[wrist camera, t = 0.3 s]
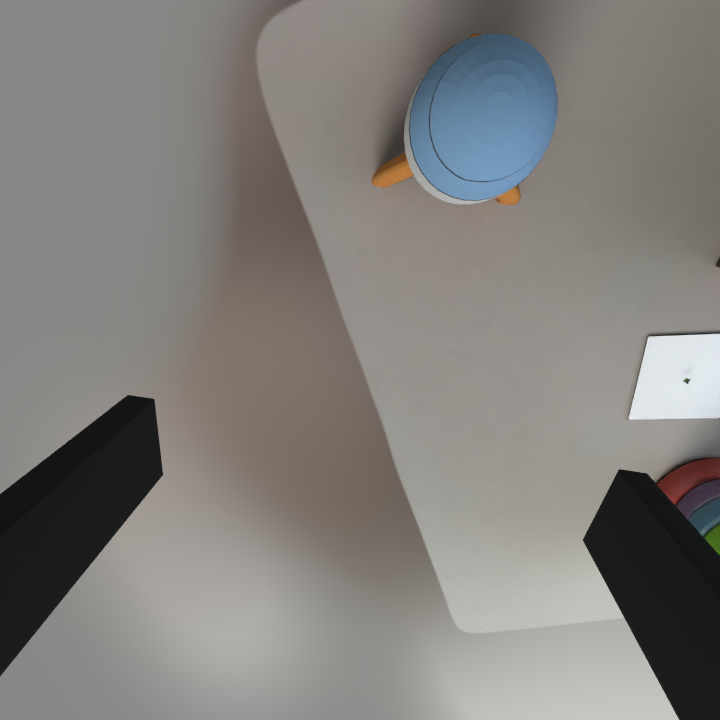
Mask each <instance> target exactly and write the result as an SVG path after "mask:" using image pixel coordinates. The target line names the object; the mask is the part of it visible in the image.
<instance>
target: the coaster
mask: <svg viewBox="0 0 720 720" xmlns="http://www.w3.org/2000/svg"><path fill="white" fill-rule="evenodd" d="M688 418H720V334H705V335H679V336H652V337H648V341H647V345H646V349H645V353H644V357H643V361H642V365H641V370H640V374H639V378H638V382H637V386H636V390H635V395H634V399H633V403H632V407H631V411H630V415H629V420H631V419H688Z"/></svg>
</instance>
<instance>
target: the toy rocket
mask: <svg viewBox="0 0 720 720" xmlns="http://www.w3.org/2000/svg"><path fill="white" fill-rule="evenodd" d="M557 104H558V97H557V91H556V85H555V80H554V78H553V75H552V72H551V70H550V67H549V66H548V64H547V63H546V61H545V60H544V58H543V57H542V55H541V54H540V53H539V52H538V51H537V50H536V49H535V48H534V47H532V46H531V45H530V44H528V43H527V42H525V41H523V40H521V39H519V38H518V37H514V36H510V35H506V34H485V35H481V34H478V33H475V34H473V35H471V37H470V38H469V39H467V40H465V41H463V42H460V43H458V44H456V45H454V46H453V47H452V48H450V49H449V50H448V51H446V52H445V53H444V54H442V55H441V56H440V57H439V58H438V59H437V60H436V61H435V62H434V63H433V64H432V65H431V67H430V68H429V69H428V70H427V71H426V73H425V74H424V76H423V77H422V79H421V80H420V82H419V84H418V85H417V87H416V88H415V91H414V93H413V95H412V98H411V100H410V103H409V106H408V110H407V114H406V118H405V126H404V145H405V153H403V154H401V155H399V156H397V157H395V158H394V159H392V160H390V161H388V162H387V163H385V164H383V165H382V166H381V167H380V168H378V169H377V171H376V173H375V174H374V176H373V178H372V183H373V185H374V186H378V187H383V188H384V187H389V186H391V185H393V184H395V183H398V182H400V181H402V180H405V179H407V178H410V177H412V176H414V177H415V179H416V180H417V181H418V182H419V183H420V185H421V186H422V187H423V188H424V189H425V190H426V191H428V192H429V193H430V194H431V195H433V196H434V197H436V198H438V199H440V200H442V201H445V202H449V203H453V204H475V203H480V202H484V201H487V200H490V199H493V198H496V199H497V202H498V203H501V204H506V205H514V204H517V203H518V202H519V200H520V198H521V195H520V191H519V187H518V184H519V183H520V182H521V181H522V180H524V179H525V178H526V177H527V176H528V175H529V174H530V173H531V171H532V170H533V169H534V168H535V166H536V165H537V164H538V163H539V161H540V159H541V158H542V156H543V154H544V152H545V151H546V149H547V147H548V145H549V143H550V140H551V137H552V135H553V132H554V128H555V123H556V118H557Z"/></svg>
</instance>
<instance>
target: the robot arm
mask: <svg viewBox="0 0 720 720" xmlns="http://www.w3.org/2000/svg"><path fill="white" fill-rule="evenodd" d="M162 475H163V472H162V462H161V453H160V445H159V436H158V427H157V418H156V411H155V401H154V399H151V398H144V397H137V396H131V395H128V396H127V397H125V398H124V399H122V400H121V401H120V402H118V403H117V404H116V405H115V406H113V407H112V408H111V409H110V410H108V411H107V412H106V413H104V414H103V415H102V416H100V417H99V418H98V419H97V420H95V421H94V422H93V423H92V424H90V425H89V426H88V427H86V428H85V429H84V430H82V431H81V432H80V433H79V434H77V435H76V436H75V437H73V438H72V439H71V440H69V441H68V442H67V443H66V444H65V445H63V446H62V447H61V448H59V449H58V450H57V451H55V452H54V453H53V454H51V455H50V456H49V457H47V458H46V459H45V460H44V461H42V462H41V463H40V464H38V465H37V466H36V467H35V468H33V469H32V470H31V471H29V472H28V473H27V474H26V475H24V476H23V477H22V478H20V479H19V480H18V481H17V482H15V483H14V484H13V485H11V486H10V487H9V488H8V489H6V490H5V491H4V492H2V493H1V494H0V676H1V675H2V673H3V672H4V671H5V670H6V668H7V667H8V666H9V665H10V663H11V662H12V661H13V659H15V657H16V656H17V655H18V654H19V652H20V651H21V650H22V648H23V647H24V646H25V645H26V644H27V642H28V641H29V640H30V639H31V637H32V636H33V635H34V634H35V633H36V631H37V630H38V629H39V628H40V626H41V625H42V624H43V622H44V621H45V620H46V619H47V618H48V616H49V615H50V614H51V613H52V611H53V610H54V609H55V607H56V606H57V605H58V604H59V603H60V602H61V600H62V599H63V598H64V596H65V595H66V594H67V593H68V591H69V590H70V589H71V588H72V586H73V585H74V584H75V583H76V582H77V580H78V579H79V578H80V577H81V575H82V574H83V573H84V572H85V571H86V569H87V568H88V567H89V566H90V564H91V563H92V562H93V561H94V559H95V558H96V557H97V556H98V555H99V553H100V552H101V551H102V550H103V548H104V547H105V546H106V545H107V543H108V542H109V541H110V540H111V538H112V537H113V536H114V535H115V533H116V532H117V531H118V530H119V529H120V527H121V526H122V525H123V524H124V522H125V521H126V520H127V518H128V517H129V516H130V515H131V514H132V512H133V511H134V510H135V509H136V508H137V506H138V505H139V504H140V503H141V501H142V500H143V499H144V498H145V496H146V495H147V494H148V493H149V491H150V490H151V489H152V488H153V486H154V485H155V484H156V483H157V481H158V480H159V479H160V478H161V476H162ZM583 541H584V543H585V545H586V547H587V549H588V551H589V553H590V554H591V556H592V558H593V560H594V562H595V564H596V566H597V567H598V569H599V571H600V573H601V575H602V577H603V579H604V581H605V582H606V584H607V586H608V588H609V590H610V592H611V594H612V595H613V597H614V599H615V601H616V603H617V605H618V607H619V608H620V610H621V612H622V614H623V616H624V618H625V620H626V621H627V623H628V625H629V627H630V629H631V631H632V633H633V634H634V636H635V638H636V640H637V642H638V644H639V646H640V647H641V649H642V651H643V653H644V655H645V657H646V659H647V660H648V662H649V664H650V666H651V668H652V670H653V672H654V674H655V675H656V677H657V679H658V681H659V683H660V685H661V687H662V688H663V690H664V692H665V694H666V696H667V698H668V700H669V701H670V703H671V705H672V707H673V709H674V711H675V713H676V715H677V716H678V718H679V720H720V555H719V554H718V553H717V552H716V551H715V550H714V548H713V547H712V546H711V545H710V544H709V543H708V542H707V541H706V539H705V538H704V537H703V536H702V535H701V534H700V533H699V532H698V530H697V529H696V528H695V527H694V526H693V525H692V524H691V523H690V521H689V520H688V519H687V518H686V517H685V516H684V515H683V513H682V512H681V511H680V510H679V509H678V508H677V507H676V506H675V504H674V503H673V502H672V501H671V500H670V499H669V498H668V497H667V495H666V494H665V493H664V492H663V491H662V490H661V489H660V488H659V486H658V485H657V484H656V483H655V482H654V481H653V480H652V479H651V477H650V476H649V475H648V474H646V473H640V472H633V471H627V470H620V469H619V471H618V473H617V474H616V476H615V478H614V480H613V482H612V484H611V486H610V488H609V490H608V492H607V494H606V496H605V498H604V500H603V502H602V504H601V506H600V508H599V510H598V511H597V513H596V515H595V517H594V519H593V521H592V523H591V525H590V527H589V529H588V531H587V533H586V535H585V537H584V539H583Z"/></svg>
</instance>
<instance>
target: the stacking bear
mask: <svg viewBox="0 0 720 720" xmlns="http://www.w3.org/2000/svg"><path fill="white" fill-rule="evenodd" d="M657 485H658V486H659V488H660V489H661V490H662V491H663V492H664V493H665V494H666V495H667V497H668V498H669V499H670V500H671V501H672V502H673V503H674V504H675V506H676V507H677V508H678V509H679V510H680V511H681V512H682V513H683V515H684V516H685V517H686V518H687V519H688V520H689V521H690V523H691V524H692V525H693V526H694V527H695V528H696V529H697V530H698V532H699V533H700V534H701V535H702V536H703V537H704V538H705V539H706V541H707V542H708V543H709V544H710V545H711V546H712V547H713V548H714V550H715V551H716V552H717V553H718V554H719V555H720V459H718V458H713V459H703V460H698V461H695V462H691V463H688V464H686V465H683V466H681V467H679V468H677V469H676V470H674V471H673V472H671V473H670V474H668V475H667V476H666V477H665V478H663V479H662V480H661V481H660V482H659V483H658V484H657Z"/></svg>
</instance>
